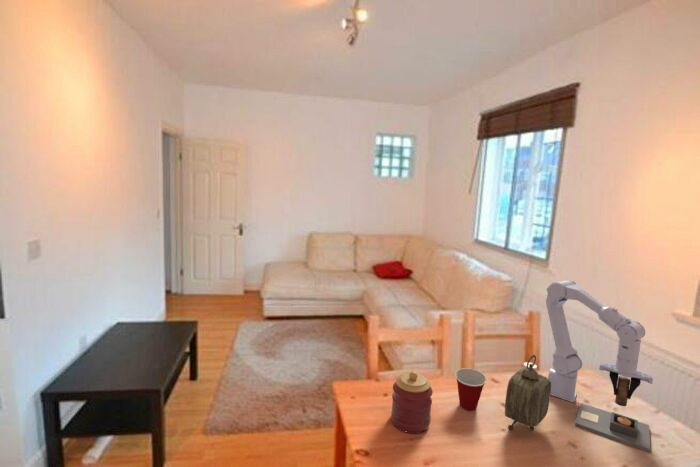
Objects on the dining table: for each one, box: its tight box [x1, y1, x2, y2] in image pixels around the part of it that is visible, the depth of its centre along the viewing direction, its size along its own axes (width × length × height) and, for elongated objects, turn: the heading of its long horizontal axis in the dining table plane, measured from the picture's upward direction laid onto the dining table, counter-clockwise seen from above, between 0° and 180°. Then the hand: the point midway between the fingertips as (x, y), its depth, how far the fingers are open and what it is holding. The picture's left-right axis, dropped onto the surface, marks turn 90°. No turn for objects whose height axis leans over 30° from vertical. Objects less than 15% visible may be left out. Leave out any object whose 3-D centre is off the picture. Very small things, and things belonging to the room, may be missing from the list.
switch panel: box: [574, 402, 651, 453], centre depth 129 cm, size 20×15×4 cm
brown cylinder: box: [614, 375, 631, 407], centre depth 129 cm, size 3×3×9 cm
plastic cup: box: [454, 367, 487, 412], centre depth 136 cm, size 11×11×12 cm
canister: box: [390, 371, 433, 434], centre depth 126 cm, size 13×13×18 cm
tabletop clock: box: [504, 354, 551, 431], centre depth 125 cm, size 14×9×25 cm, turn 134°
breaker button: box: [617, 417, 631, 427], centre depth 126 cm, size 4×4×1 cm
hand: (621, 395), depth 130 cm, fingers closed on brown cylinder, 3 cm apart
